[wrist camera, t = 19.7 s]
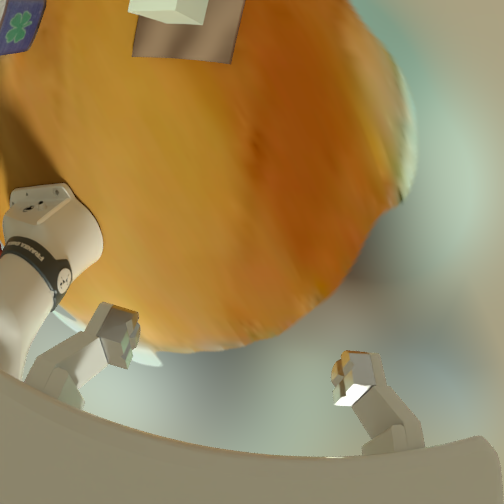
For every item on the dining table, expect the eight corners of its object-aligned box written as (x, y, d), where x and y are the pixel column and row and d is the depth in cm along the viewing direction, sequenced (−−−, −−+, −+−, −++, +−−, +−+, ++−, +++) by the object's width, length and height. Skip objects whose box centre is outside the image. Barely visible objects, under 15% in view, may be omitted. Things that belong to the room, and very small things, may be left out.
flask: (39, -3, 20) (-10, -3, 12) (51, -1, 21) (1, -3, 12) (20, 50, 25) (-29, 60, 17) (30, 53, 26) (-20, 63, 17)
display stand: (137, 56, 28) (114, 57, 23) (152, -19, 22) (132, -31, 17) (230, 64, 29) (222, 63, 24) (249, -16, 23) (244, -31, 18)
